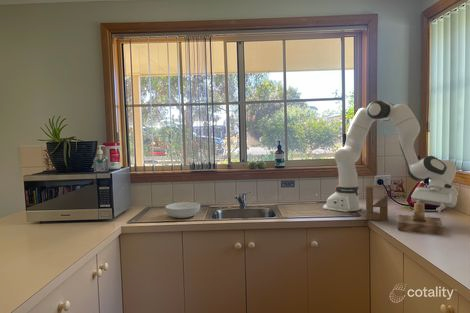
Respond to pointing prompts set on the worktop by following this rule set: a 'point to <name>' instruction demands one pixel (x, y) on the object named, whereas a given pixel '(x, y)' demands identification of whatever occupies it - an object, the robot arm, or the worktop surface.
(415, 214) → the peg
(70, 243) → the worktop surface
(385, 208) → the wooden braced stand
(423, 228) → the board
